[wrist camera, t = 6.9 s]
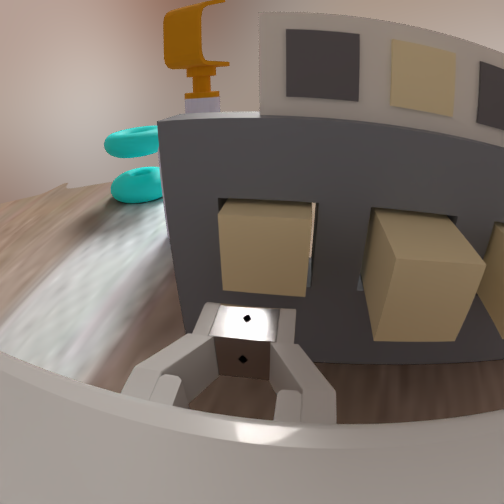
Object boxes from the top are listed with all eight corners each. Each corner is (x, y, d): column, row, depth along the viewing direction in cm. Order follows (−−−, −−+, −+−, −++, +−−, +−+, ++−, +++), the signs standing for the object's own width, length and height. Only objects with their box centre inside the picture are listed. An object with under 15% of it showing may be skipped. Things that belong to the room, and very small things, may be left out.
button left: (222, 290, 16) (217, 214, 14) (247, 228, 22) (246, 170, 20) (305, 297, 15) (311, 219, 13) (306, 232, 21) (310, 173, 19)
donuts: (110, 130, 46) (171, 122, 47) (118, 188, 51) (175, 180, 52) (96, 140, 37) (169, 130, 39) (107, 210, 42) (175, 201, 44)
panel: (188, 348, 20) (152, 18, 11) (201, 318, 23) (177, 26, 13) (515, 357, 17) (597, 98, 8) (501, 331, 20) (568, 91, 10)
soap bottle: (266, 225, 36) (266, 0, 24) (220, 263, 30) (209, -21, 17) (202, 211, 40) (193, 13, 28) (151, 241, 33) (131, 5, 21)
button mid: (373, 341, 13) (396, 258, 11) (356, 256, 19) (365, 191, 17) (454, 341, 12) (486, 265, 10) (418, 260, 18) (432, 199, 16)
